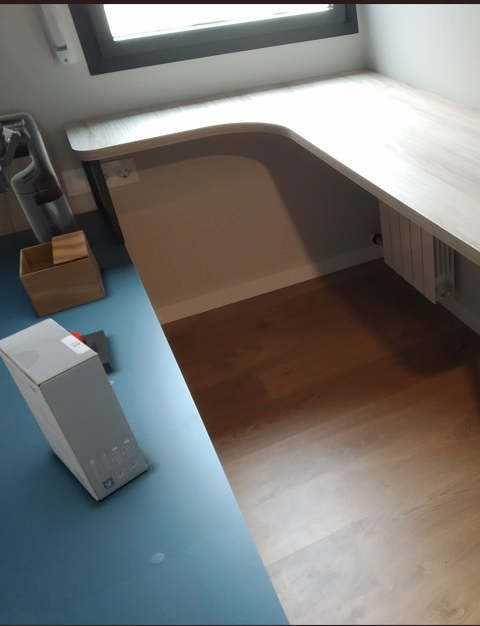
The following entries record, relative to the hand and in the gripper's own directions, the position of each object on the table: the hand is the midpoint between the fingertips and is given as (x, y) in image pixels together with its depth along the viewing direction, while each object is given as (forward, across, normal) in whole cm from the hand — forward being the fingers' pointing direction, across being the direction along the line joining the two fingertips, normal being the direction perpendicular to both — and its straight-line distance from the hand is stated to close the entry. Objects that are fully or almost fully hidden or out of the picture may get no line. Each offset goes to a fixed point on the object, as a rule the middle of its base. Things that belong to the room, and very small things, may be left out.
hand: (3, 191), depth 110 cm
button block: (+27, -2, +20) cm, 34 cm away
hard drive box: (+27, -3, +48) cm, 55 cm away
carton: (+27, -2, -11) cm, 29 cm away
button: (+23, -2, +20) cm, 31 cm away
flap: (+17, -5, -11) cm, 21 cm away
